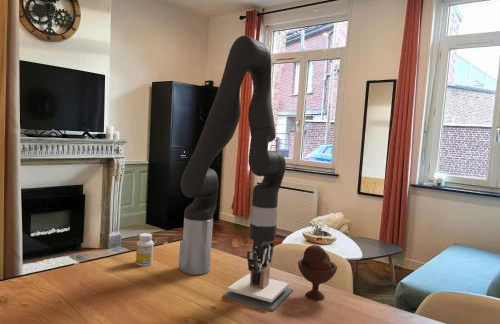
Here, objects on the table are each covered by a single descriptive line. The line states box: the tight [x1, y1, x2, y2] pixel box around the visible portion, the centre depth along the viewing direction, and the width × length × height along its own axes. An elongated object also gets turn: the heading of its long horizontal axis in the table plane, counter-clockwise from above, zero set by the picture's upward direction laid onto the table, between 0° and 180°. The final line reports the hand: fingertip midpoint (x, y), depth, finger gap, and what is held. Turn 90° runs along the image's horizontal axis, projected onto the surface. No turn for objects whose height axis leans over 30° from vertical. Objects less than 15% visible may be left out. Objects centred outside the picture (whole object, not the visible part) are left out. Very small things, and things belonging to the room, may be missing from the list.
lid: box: [227, 264, 290, 302], centre depth 104 cm, size 13×13×6 cm
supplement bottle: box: [135, 232, 155, 267], centre depth 123 cm, size 5×5×10 cm
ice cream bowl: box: [297, 244, 338, 302], centre depth 106 cm, size 11×11×15 cm
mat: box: [222, 287, 294, 312], centre depth 105 cm, size 15×15×1 cm
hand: (259, 281), depth 104 cm, fingers closed on lid, 3 cm apart
